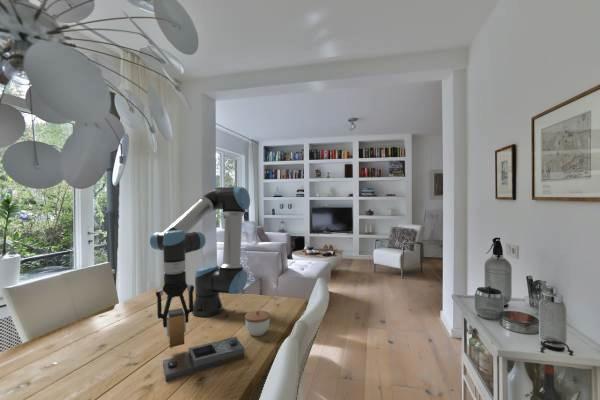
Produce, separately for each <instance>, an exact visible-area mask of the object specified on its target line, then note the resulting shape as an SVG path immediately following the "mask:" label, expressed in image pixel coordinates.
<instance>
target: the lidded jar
mask: <svg viewBox="0 0 600 400" xmlns="http://www.w3.org/2000/svg"><path fill="white" fill-rule="evenodd" d="M270 317H271V314H270V313H269V311H265V310H251V311H248V312H247V313H246V314H245V315H244V319H245V322H244V323H245V328H246V330H247V332H248V333H249V334H250V335H251V336H254V337H259V336H263V335H264V334H266V332H267V331H268V329H269V327H270V321H271V319H270Z"/></svg>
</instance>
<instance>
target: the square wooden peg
mask: <svg viewBox="0 0 600 400" xmlns="http://www.w3.org/2000/svg"><path fill="white" fill-rule="evenodd" d="M167 316H168V317H169V336H168V338H167V340H168V342H167V343H168V344H169V348H170V349H172V348H174V347H179V346H183V345H185V333H184V309H183V307H180V308H175V309H169V311H168V315H167Z"/></svg>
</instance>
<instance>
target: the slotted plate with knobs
mask: <svg viewBox="0 0 600 400" xmlns="http://www.w3.org/2000/svg"><path fill="white" fill-rule="evenodd" d="M244 359H245V347H244V345H243V344H242V343H241V341H240V340H239V339H238V338H237V337H236V336H232V337H228V338H225V339H220V340H217V341H212V342H208V343H205V344H201V345H196V346H192V347H188V353H186V354H182V355H179V356H175V357H170V358H167V359H164V360H162V369H163V373H164V378H165V382H168V381H172V380H175V379H180V378H182V377H185V376H189V375H193V374H195V373H200V372H203V371H207V370H210V369H214V368H217V367H220V366H224V365H226V364H231V363H234V362H239V361H241V360H244Z"/></svg>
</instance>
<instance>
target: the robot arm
mask: <svg viewBox="0 0 600 400" xmlns="http://www.w3.org/2000/svg"><path fill="white" fill-rule="evenodd" d="M250 206H251V198H250V194H249V192H248V190H247V189H246V188H245V187H243V186H227V187H225V186H224V187H223V186H221V187H215V188H212V189H210V190H208V191H206V192H204V193H203V194H202V195H200V196H199V197H198V198H197V200H196V203H194V204H193V205H192V206H191V207H190V208H189V209H187V210H186V211H185V212H184V213H183V214H182V215H180V216H179V217H178V218H177V219H176V220H175V221H173V223H171V224H170V225H169V226H168V227H166V228H165V229H164V230H163V231H156V232H154V233H152V234H151V236H150V237H149V238H150V239H149V244H150V247H151V248H152V249H154V250H157V251H163V272H164V274H163V286H162V288H161V289H157V290H155V292H154V293H155V295H156V302H157V304H156V307H157V309H156V311H157V312H156V315H157V318H158V319H162V326H163V328H166V337H168V336H169V317H168V311H169V310H170V307H171V303H172V300H173V298H176V297H177V298H178V297H179V299H180V303H181V306H182V310H183V312H184V334H185V333H187V328H186V324H187V323H189V315H190V313H191V314H192V315H193V316H196V317H199V318H200V317H202V318H203V317H204V318H205V317H211V316H215V315H218V314H219V313H221V312H223V303H222V300H221V297H220V294H230V295H238V294H241V292H243V291H244V289H245V287H246V284H247V282H248V281H247V280H248V274H247V271H246V270H244V265H243V264H241V250H242V249H241V247H242V228H243V226H242V225H243V216H244V215H245V214H246V210H249V208H250ZM217 210H222V214H223V215H224V234H223V235H224V236H223V251H222V252H223V253H222V263H221V264H220V265H218V264H212V265H205V266H202V267H199V268H197V269H196V270H195V276H194V283H195V284H194V285H195V286H194V285H193V284H187V282H186V281H187V280H186V279H187V277H186V254H188V253H192V252H195V251H199V250H201V249H203V248H204V247H205V245H206V237H205V234H203V233H202V232H201V231H192V232H190V231H191V230H192V229H193V228H194V227H195V226H196V225H197V224H198V223H199V222H200V221H201V220H202V219H204V217H205V216H206V215H207V214H212V212H213V211H217ZM194 289H195V293H194ZM186 290H187V291H188V293H187V294H188V306H187V303H186V300H185V296H184V293H185V291H186ZM163 293H164V294H166V295H167V296H166V300H165V305H164V309H163V312H162V296H163V295H164V294H163ZM194 294H195V298H194Z"/></svg>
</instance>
